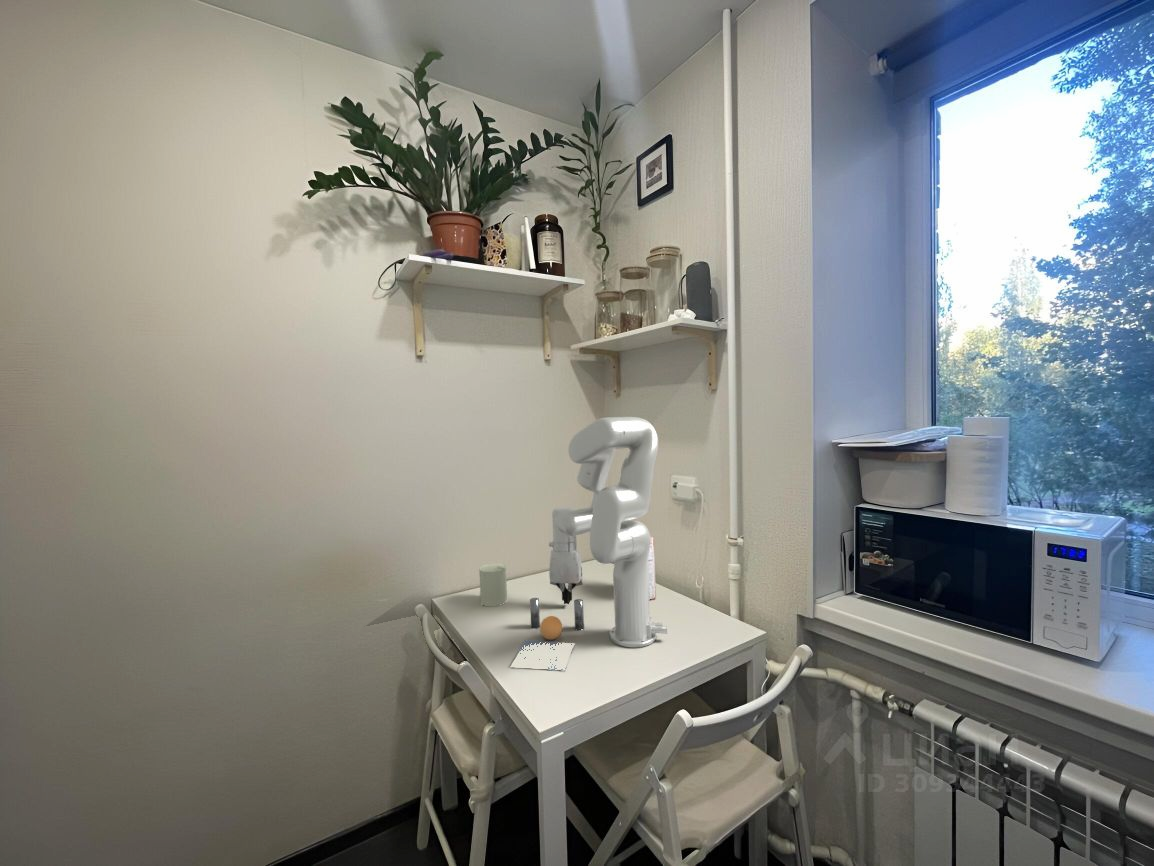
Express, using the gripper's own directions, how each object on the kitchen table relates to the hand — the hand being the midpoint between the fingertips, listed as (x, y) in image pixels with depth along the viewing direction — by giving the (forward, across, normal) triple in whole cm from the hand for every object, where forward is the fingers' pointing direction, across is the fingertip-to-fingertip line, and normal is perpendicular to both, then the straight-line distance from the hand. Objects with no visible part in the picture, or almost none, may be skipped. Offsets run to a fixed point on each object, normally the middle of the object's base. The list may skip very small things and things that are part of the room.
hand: (567, 602), depth 146 cm
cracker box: (+2, +22, +13) cm, 26 cm away
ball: (-2, 0, -22) cm, 22 cm away
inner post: (+2, +6, -15) cm, 16 cm away
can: (+2, -26, +3) cm, 26 cm away
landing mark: (+2, 0, -31) cm, 31 cm away
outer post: (+2, -7, -15) cm, 16 cm away
